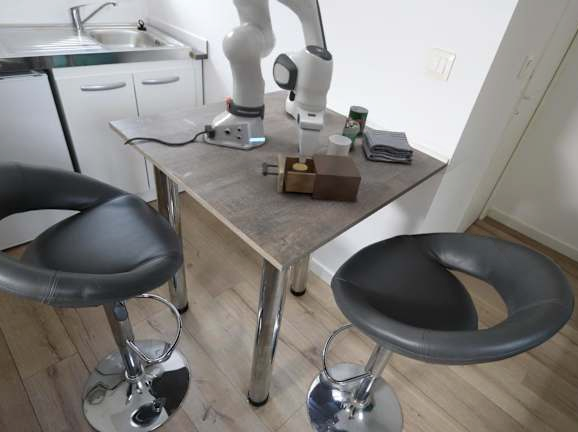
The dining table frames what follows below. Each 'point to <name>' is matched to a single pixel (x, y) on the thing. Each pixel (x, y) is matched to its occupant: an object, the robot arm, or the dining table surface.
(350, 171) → the cabinet
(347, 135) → the food container
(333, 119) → the dining table surface
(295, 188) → the drawer
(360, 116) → the canned tomato
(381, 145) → the towel
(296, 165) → the tea tin
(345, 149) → the white cup
